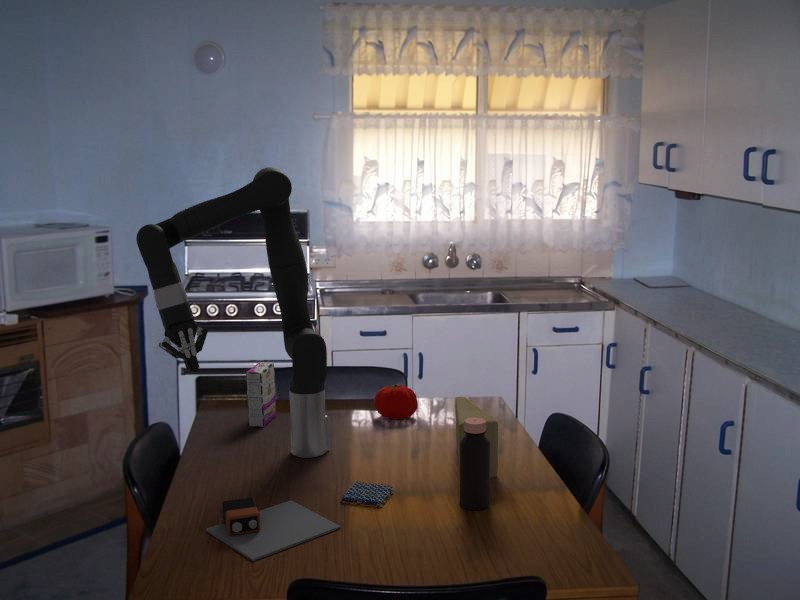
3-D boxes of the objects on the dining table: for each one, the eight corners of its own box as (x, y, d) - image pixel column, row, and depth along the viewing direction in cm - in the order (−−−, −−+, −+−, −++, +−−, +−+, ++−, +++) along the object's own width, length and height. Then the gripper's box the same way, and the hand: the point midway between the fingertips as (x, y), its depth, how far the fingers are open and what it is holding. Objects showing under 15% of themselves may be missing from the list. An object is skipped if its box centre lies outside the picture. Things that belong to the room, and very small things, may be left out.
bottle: (469, 513, 201) (470, 427, 197) (453, 502, 207) (454, 418, 203) (495, 507, 204) (496, 422, 200) (479, 496, 210) (479, 414, 206)
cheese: (441, 449, 241) (441, 395, 238) (476, 447, 242) (477, 393, 239) (459, 481, 219) (459, 422, 216) (498, 478, 221) (499, 419, 218)
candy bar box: (261, 414, 271) (258, 361, 267) (277, 415, 270) (275, 362, 266) (247, 426, 260) (245, 371, 257) (264, 427, 259) (261, 372, 256)
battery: (221, 500, 197) (228, 519, 188) (252, 496, 199) (260, 514, 190) (222, 519, 198) (229, 538, 189) (253, 514, 200) (261, 533, 191)
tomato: (417, 423, 262) (417, 389, 260) (373, 423, 262) (373, 389, 260) (417, 411, 273) (417, 378, 271) (375, 411, 273) (374, 378, 271)
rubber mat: (291, 502, 208) (290, 500, 208) (340, 528, 194) (340, 526, 194) (206, 531, 194) (205, 528, 194) (252, 561, 180) (252, 559, 180)
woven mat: (396, 492, 214) (396, 484, 214) (381, 510, 204) (381, 502, 204) (354, 487, 217) (354, 479, 217) (338, 505, 207) (338, 496, 207)
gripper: (154, 309, 213) (176, 379, 214) (203, 295, 221) (224, 362, 222) (142, 313, 218) (163, 381, 220) (190, 299, 227) (210, 365, 228)
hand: (194, 372), depth 221 cm, fingers closed
